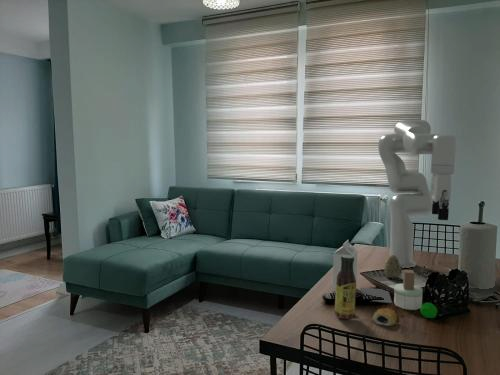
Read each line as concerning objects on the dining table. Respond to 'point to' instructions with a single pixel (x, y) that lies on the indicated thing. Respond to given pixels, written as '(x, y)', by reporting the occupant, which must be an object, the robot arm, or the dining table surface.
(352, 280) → the sauce bottle
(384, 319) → the pastry
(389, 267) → the decorative egg
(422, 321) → the dining table surface
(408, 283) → the lid
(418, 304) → the bowl
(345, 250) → the milk carton
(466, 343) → the dining table surface
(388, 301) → the mat
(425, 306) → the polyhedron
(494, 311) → the dining table surface
